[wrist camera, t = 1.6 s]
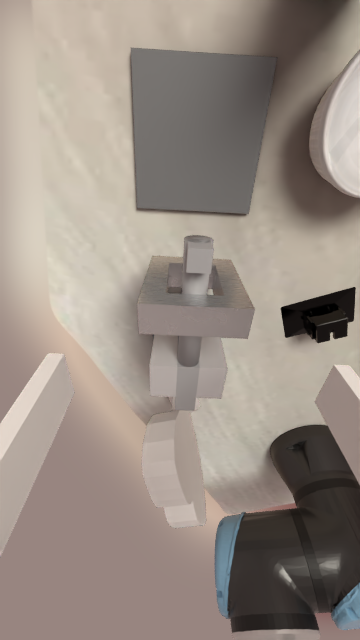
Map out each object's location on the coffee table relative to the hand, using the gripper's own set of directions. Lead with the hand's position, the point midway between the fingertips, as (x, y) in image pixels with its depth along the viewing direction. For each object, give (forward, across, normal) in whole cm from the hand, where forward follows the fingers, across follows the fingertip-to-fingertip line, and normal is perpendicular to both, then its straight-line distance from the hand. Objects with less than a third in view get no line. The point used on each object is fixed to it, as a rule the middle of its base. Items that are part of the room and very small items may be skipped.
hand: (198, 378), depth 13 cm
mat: (+21, 0, -10) cm, 23 cm away
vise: (+20, 0, +6) cm, 21 cm away
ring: (+16, 0, 0) cm, 16 cm away
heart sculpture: (+20, 0, +24) cm, 31 cm away
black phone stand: (+21, -18, +8) cm, 29 cm away
